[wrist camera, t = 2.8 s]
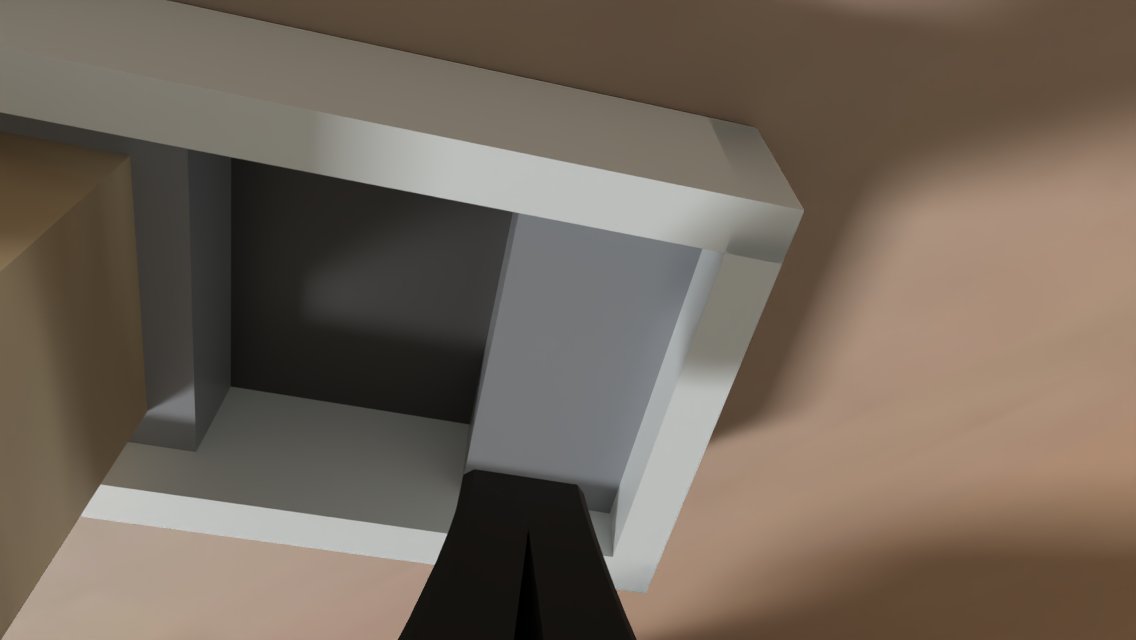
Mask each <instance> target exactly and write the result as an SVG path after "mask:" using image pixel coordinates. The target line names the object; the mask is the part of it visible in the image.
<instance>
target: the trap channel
mask: <svg viewBox="0 0 1136 640" xmlns="http://www.w3.org/2000/svg"><path fill="white" fill-rule="evenodd" d="M0 131H3V132H8V133H14V134H19V135H24V136H29V137H34V138H40V139H45V140H50V141H55V142H61V143H66V144H71V145H76V146H81V147H87V148H92V149H97V150H102V151H108V152H113V153H118V154H123V155H128V156H130V163H131V178H132V192H133V207H134V222H135V236H136V251H137V266H138V280H139V295H140V310H141V324H142V339H143V354H144V368H145V383H146V397H147V413H146V414H145V416H144V417H143V419H142V420H141V422H140V423H139V425H138V427H137V428H136V430H135V431H134V433H133V434H132V436H131V438H130V439H129V441H128V442H127V444H126V445H125V447H124V448H123V450H122V452H121V453H120V455H119V456H118V458H117V459H116V461H115V462H114V464H113V466H112V467H111V469H110V470H109V472H108V473H107V475H106V477H105V478H104V480H103V481H102V483H101V484H100V486H99V487H98V489H97V491H96V492H95V494H94V495H93V497H92V498H91V500H90V502H89V503H88V505H87V506H86V508H85V509H84V511H83V512H82V514H81V517H88V518H95V519H103V520H110V521H117V522H125V523H132V524H139V525H147V526H154V527H161V528H169V529H176V530H183V531H191V532H198V533H205V534H213V535H220V536H227V537H235V538H242V539H249V540H257V541H264V542H271V543H279V544H286V545H293V546H301V547H308V548H315V549H323V550H330V551H337V552H345V553H352V554H359V555H367V556H374V557H381V558H389V559H396V560H403V561H411V562H418V563H425V564H433V565H435V563H436V561H437V558H438V556H439V553H440V551H441V549H442V546H443V544H444V541H445V539H446V536H447V534H448V531H449V528H450V525H451V523H452V520H453V517H454V514H455V510H456V507H457V502H458V497H459V492H460V488H461V483H462V478H463V475H464V474H466V473H468V472H470V471H472V470H474V469H477V470H484V471H490V472H497V473H504V474H510V475H517V476H523V477H530V478H537V479H543V480H550V481H556V482H563V483H570V484H576V485H578V486H579V488H580V489H581V490H582V492H583V493H584V496H585V500H586V503H587V507H588V510H589V514H590V517H591V520H592V523H593V527H594V530H595V533H596V536H597V539H598V542H599V545H600V548H601V551H602V553H603V556H604V559H605V562H606V565H607V567H608V570H609V573H610V575H611V578H612V581H613V583H614V586H615V589H616V590H623V591H631V592H638V593H645V594H646V592H647V589H648V587H649V584H650V582H651V580H652V577H653V575H654V572H655V570H656V568H657V565H658V563H659V560H660V558H661V555H662V553H663V551H664V548H665V546H666V543H667V541H668V539H669V536H670V534H671V531H672V529H673V527H674V524H675V522H676V519H677V517H678V514H679V512H680V510H681V507H682V505H683V502H684V500H685V498H686V495H687V493H688V490H689V488H690V486H691V483H692V481H693V478H694V476H695V473H696V471H697V469H698V466H699V464H700V461H701V459H702V457H703V454H704V452H705V449H706V447H707V445H708V442H709V440H710V437H711V435H712V432H713V430H714V428H715V425H716V423H717V420H718V418H719V416H720V413H721V411H722V408H723V406H724V404H725V401H726V399H727V396H728V394H729V392H730V389H731V387H732V384H733V382H734V379H735V377H736V375H737V372H738V370H739V367H740V365H741V363H742V360H743V358H744V355H745V353H746V351H747V348H748V346H749V343H750V341H751V338H752V336H753V334H754V331H755V329H756V326H757V324H758V322H759V319H760V317H761V314H762V312H763V310H764V307H765V305H766V302H767V300H768V297H769V295H770V293H771V290H772V288H773V285H774V283H775V281H776V278H777V276H778V273H779V271H780V269H781V266H782V264H783V261H784V259H785V256H786V254H787V252H788V249H789V247H790V244H791V242H792V240H793V237H794V235H795V232H796V230H797V228H798V225H799V223H800V220H801V218H802V215H803V213H804V209H803V207H802V205H801V204H800V202H799V200H798V199H797V197H796V195H795V193H794V192H793V190H792V188H791V186H790V185H789V183H788V181H787V179H786V178H785V176H784V174H783V173H782V171H781V169H780V167H779V166H778V164H777V162H776V160H775V159H774V157H773V155H772V153H771V152H770V150H769V148H768V147H767V145H766V143H765V141H764V140H763V138H762V136H761V134H760V133H759V131H758V129H757V128H756V127H751V126H747V125H742V124H737V123H733V122H728V121H724V120H719V119H714V118H710V117H705V116H700V115H696V114H691V113H687V112H682V111H677V110H673V109H668V108H663V107H659V106H654V105H650V104H645V103H640V102H636V101H631V100H626V99H622V98H617V97H612V96H608V95H603V94H599V93H594V92H589V91H585V90H580V89H575V88H571V87H566V86H562V85H557V84H552V83H548V82H543V81H538V80H534V79H529V78H525V77H520V76H515V75H511V74H506V73H501V72H497V71H492V70H488V69H483V68H478V67H474V66H469V65H464V64H460V63H455V62H450V61H446V60H441V59H437V58H432V57H427V56H423V55H418V54H413V53H409V52H404V51H400V50H395V49H390V48H386V47H381V46H376V45H372V44H367V43H363V42H358V41H353V40H349V39H344V38H339V37H335V36H330V35H326V34H321V33H316V32H312V31H307V30H302V29H298V28H293V27H288V26H284V25H279V24H275V23H270V22H265V21H261V20H256V19H251V18H247V17H242V16H238V15H233V14H228V13H224V12H219V11H214V10H210V9H205V8H201V7H196V6H191V5H187V4H182V3H177V2H173V1H168V0H0Z"/></svg>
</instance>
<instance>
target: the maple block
mask: <svg viewBox="0 0 1136 640" xmlns="http://www.w3.org/2000/svg"><path fill="white" fill-rule="evenodd" d="M146 413H147V397H146V383H145V368H144V354H143V339H142V324H141V310H140V295H139V280H138V266H137V251H136V236H135V222H134V207H133V192H132V178H131V163H130V156H128V155H123V154H118V153H113V152H108V151H102V150H97V149H92V148H87V147H81V146H76V145H71V144H66V143H61V142H55V141H50V140H45V139H40V138H34V137H29V136H24V135H19V134H14V133H8V132H3V131H0V640H1V639H2V637H3V636H4V634H5V633H6V631H7V629H8V628H9V626H10V625H11V623H12V622H13V620H14V619H15V617H16V615H17V614H18V612H19V611H20V609H21V608H22V606H23V604H24V603H25V601H26V600H27V598H28V597H29V595H30V594H31V592H32V590H33V589H34V587H35V586H36V584H37V583H38V581H39V580H40V578H41V576H42V575H43V573H44V572H45V570H46V569H47V567H48V565H49V564H50V562H51V561H52V559H53V558H54V556H55V555H56V553H57V551H58V550H59V548H60V547H61V545H62V544H63V542H64V541H65V539H66V537H67V536H68V534H69V533H70V531H71V530H72V528H73V526H74V525H75V523H76V522H77V520H78V519H79V517H80V516H81V514H82V512H83V511H84V509H85V508H86V506H87V505H88V503H89V502H90V500H91V498H92V497H93V495H94V494H95V492H96V491H97V489H98V487H99V486H100V484H101V483H102V481H103V480H104V478H105V477H106V475H107V473H108V472H109V470H110V469H111V467H112V466H113V464H114V462H115V461H116V459H117V458H118V456H119V455H120V453H121V452H122V450H123V448H124V447H125V445H126V444H127V442H128V441H129V439H130V438H131V436H132V434H133V433H134V431H135V430H136V428H137V427H138V425H139V423H140V422H141V420H142V419H143V417H144V416H145V414H146Z"/></svg>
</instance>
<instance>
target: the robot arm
mask: <svg viewBox="0 0 1136 640" xmlns="http://www.w3.org/2000/svg"><path fill="white" fill-rule="evenodd" d="M398 640H636V637H635V635H634V633H633V630H632V628H631V626H630V623H629V621H628V619H627V616H626V614H625V611H624V609H623V606H622V604H621V601H620V599H619V596H618V594H617V591H616V589H615V586H614V583H613V581H612V578H611V575H610V573H609V570H608V567H607V565H606V562H605V559H604V556H603V553H602V551H601V548H600V545H599V542H598V539H597V536H596V533H595V530H594V527H593V523H592V520H591V517H590V514H589V510H588V507H587V503H586V500H585V496H584V493H583V492H582V490H581V489H580V488H579V486H578V485H576V484H570V483H563V482H556V481H550V480H543V479H537V478H530V477H523V476H517V475H510V474H504V473H497V472H490V471H484V470H477V469H474V470H472V471H470V472H468V473H466V474H464V475H463V478H462V483H461V488H460V492H459V497H458V502H457V507H456V510H455V514H454V517H453V520H452V523H451V525H450V528H449V531H448V534H447V536H446V539H445V541H444V544H443V546H442V549H441V551H440V553H439V556H438V558H437V561H436V563H435V565H434V568H433V570H432V572H431V574H430V576H429V578H428V580H427V582H426V584H425V586H424V588H423V591H422V593H421V595H420V597H419V599H418V601H417V603H416V605H415V607H414V609H413V611H412V614H411V616H410V618H409V620H408V622H407V623H406V625H405V627H404V629H403V631H402V633H401V635H400V637H399V638H398Z"/></svg>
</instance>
